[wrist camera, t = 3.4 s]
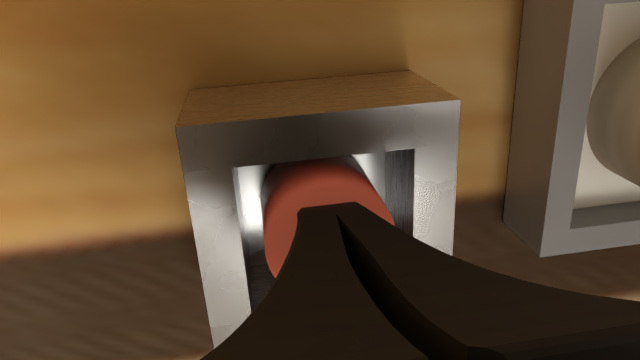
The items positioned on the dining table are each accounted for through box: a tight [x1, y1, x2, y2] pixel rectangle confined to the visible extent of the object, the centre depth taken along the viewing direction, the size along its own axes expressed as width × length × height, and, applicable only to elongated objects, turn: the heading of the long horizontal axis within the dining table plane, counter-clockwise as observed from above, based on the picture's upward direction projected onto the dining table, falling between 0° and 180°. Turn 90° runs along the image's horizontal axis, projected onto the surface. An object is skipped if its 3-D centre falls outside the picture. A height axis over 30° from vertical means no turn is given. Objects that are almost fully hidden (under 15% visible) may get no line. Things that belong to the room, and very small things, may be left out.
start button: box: [261, 156, 395, 278], centre depth 12 cm, size 3×3×2 cm
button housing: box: [175, 70, 461, 349], centre depth 13 cm, size 6×6×4 cm
